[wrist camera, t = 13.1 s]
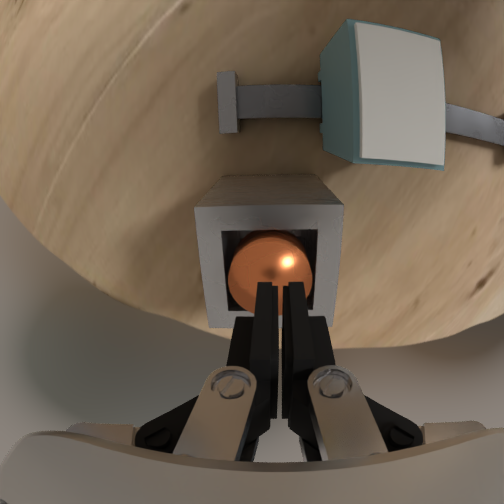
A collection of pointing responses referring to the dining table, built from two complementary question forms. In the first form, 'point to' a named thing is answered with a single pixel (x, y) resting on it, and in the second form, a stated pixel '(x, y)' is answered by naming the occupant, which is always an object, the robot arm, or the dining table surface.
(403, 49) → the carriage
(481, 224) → the dining table surface
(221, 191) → the grey button box
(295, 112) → the rail
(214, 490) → the robot arm
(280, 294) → the plunger
